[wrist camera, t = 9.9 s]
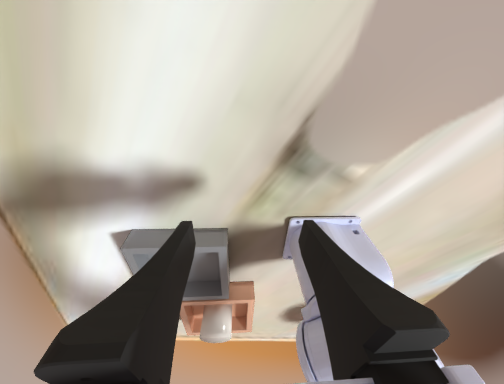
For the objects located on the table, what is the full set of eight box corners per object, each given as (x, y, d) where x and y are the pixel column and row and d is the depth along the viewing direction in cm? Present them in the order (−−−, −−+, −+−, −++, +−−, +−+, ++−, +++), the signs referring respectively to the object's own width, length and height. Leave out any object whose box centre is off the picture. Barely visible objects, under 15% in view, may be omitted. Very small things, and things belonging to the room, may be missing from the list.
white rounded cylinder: (228, 296, 33) (226, 330, 29) (235, 308, 36) (234, 341, 32) (200, 299, 33) (194, 333, 29) (209, 311, 36) (205, 344, 32)
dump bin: (253, 281, 33) (254, 299, 30) (250, 314, 39) (251, 331, 37) (180, 283, 32) (175, 302, 29) (190, 317, 38) (187, 335, 36)
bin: (227, 228, 25) (226, 246, 23) (229, 280, 32) (228, 298, 29) (132, 229, 24) (120, 248, 22) (154, 283, 31) (147, 302, 29)
